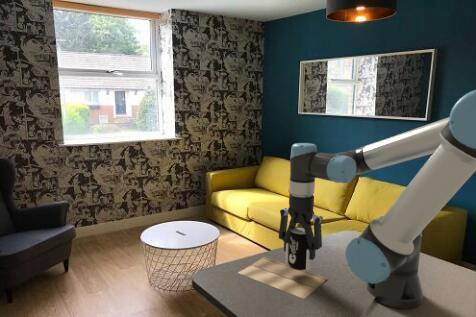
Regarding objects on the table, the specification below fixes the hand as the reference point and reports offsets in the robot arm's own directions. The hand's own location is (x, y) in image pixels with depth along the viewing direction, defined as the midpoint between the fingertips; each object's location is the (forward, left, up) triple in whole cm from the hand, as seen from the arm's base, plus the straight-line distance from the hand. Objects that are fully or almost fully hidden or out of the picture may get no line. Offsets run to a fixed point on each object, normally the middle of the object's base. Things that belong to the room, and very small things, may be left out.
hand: (298, 264), depth 113 cm
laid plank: (+4, +7, -5) cm, 10 cm away
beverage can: (0, 0, -1) cm, 1 cm away
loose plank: (+4, 0, -5) cm, 6 cm away
